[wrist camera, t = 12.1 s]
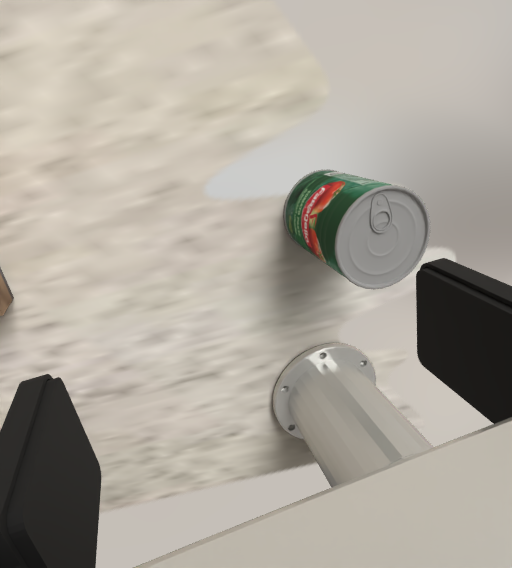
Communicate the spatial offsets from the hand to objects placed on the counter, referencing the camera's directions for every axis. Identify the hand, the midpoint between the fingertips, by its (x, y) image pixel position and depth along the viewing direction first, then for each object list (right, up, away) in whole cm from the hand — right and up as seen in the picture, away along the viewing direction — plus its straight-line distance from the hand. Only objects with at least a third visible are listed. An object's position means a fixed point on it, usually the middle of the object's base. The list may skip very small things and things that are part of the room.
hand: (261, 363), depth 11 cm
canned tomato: (+6, +9, +30) cm, 32 cm away
